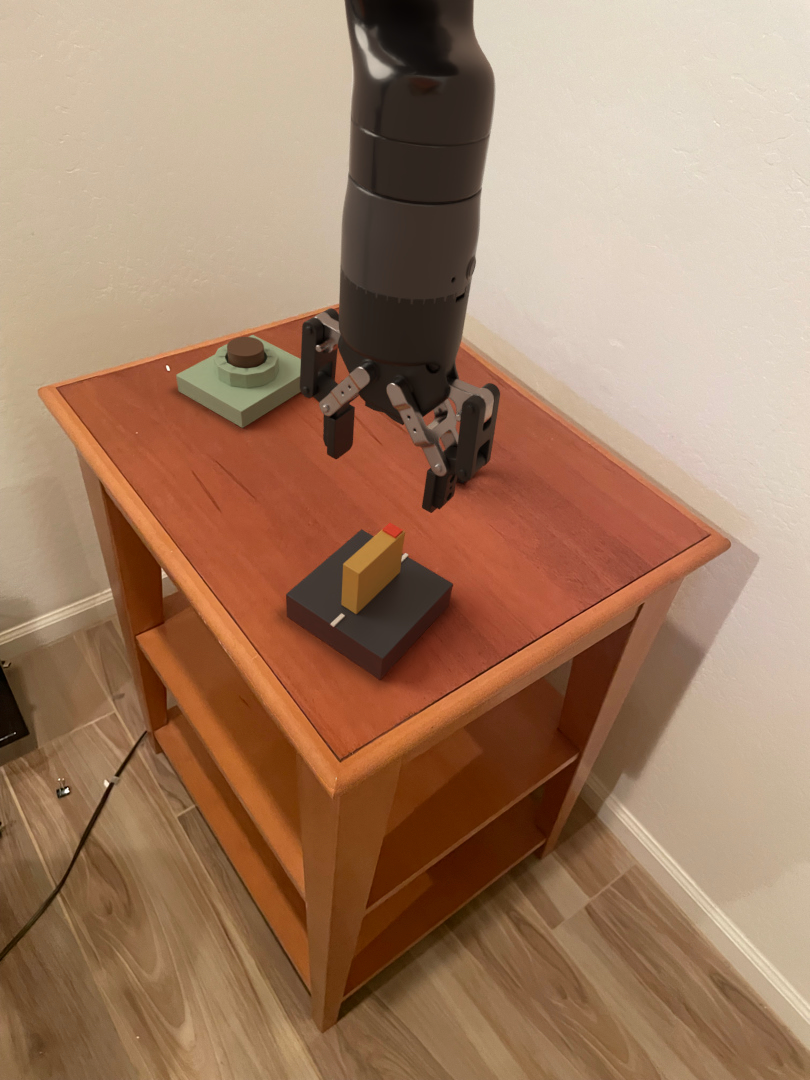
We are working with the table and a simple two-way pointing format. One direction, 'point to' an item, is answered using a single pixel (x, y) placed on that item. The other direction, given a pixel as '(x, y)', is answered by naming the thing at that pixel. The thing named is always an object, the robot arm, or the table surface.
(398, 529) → the lock knob
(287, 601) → the plate
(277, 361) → the doorbell
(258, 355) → the bell button
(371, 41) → the robot arm
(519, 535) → the table surface
